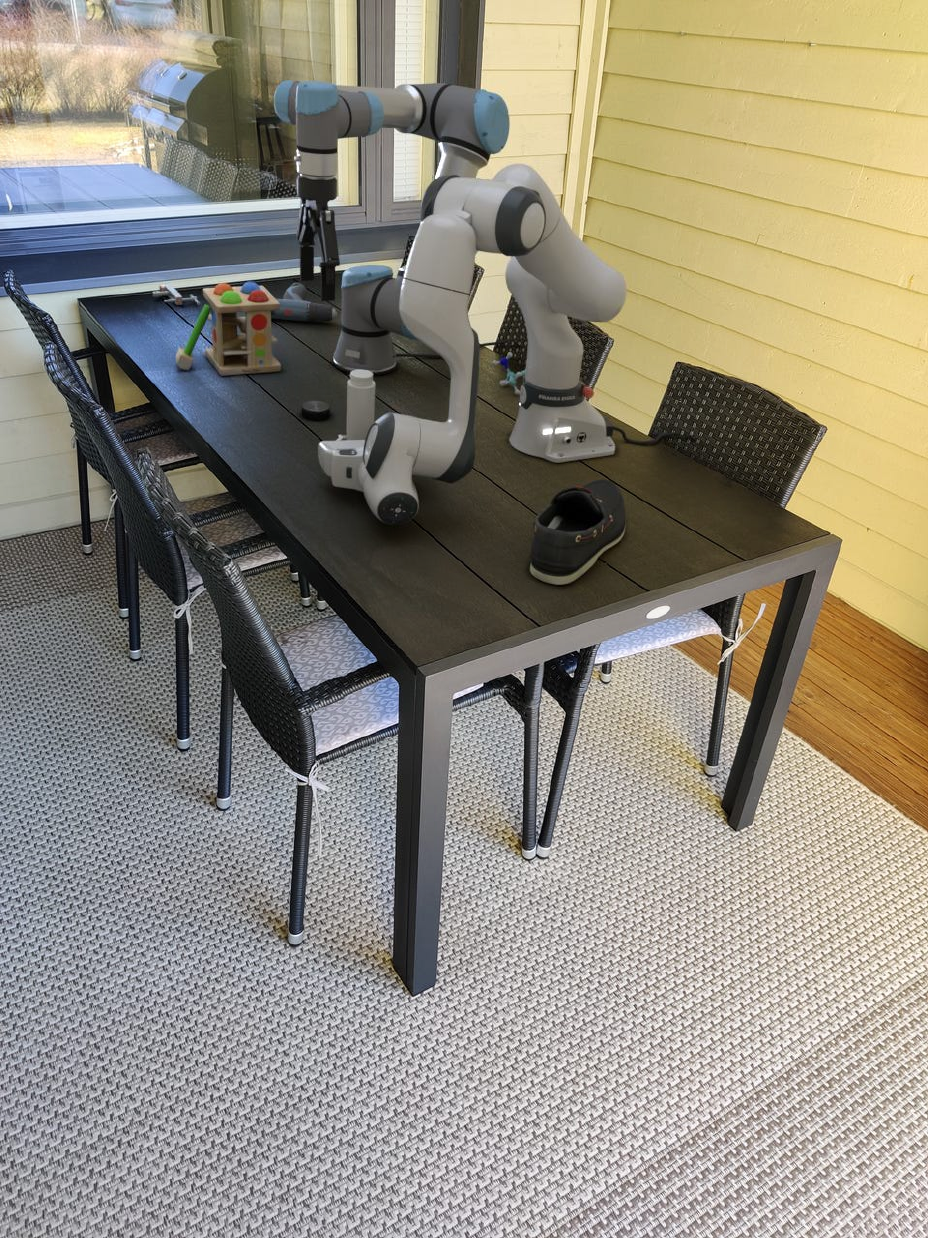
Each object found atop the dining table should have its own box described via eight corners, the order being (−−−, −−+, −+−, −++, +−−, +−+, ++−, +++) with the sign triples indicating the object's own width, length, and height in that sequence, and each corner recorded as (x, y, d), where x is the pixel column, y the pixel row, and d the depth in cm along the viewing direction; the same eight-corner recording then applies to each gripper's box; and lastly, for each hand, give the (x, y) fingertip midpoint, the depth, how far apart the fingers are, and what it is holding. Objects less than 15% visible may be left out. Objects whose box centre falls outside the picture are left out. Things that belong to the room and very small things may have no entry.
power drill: (344, 304, 276) (335, 327, 259) (277, 298, 275) (264, 321, 258) (344, 285, 273) (335, 306, 256) (277, 279, 272) (264, 300, 255)
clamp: (148, 285, 268) (184, 283, 272) (149, 293, 269) (185, 291, 274) (164, 302, 257) (201, 299, 262) (164, 310, 259) (202, 307, 263)
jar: (340, 451, 197) (341, 373, 188) (357, 443, 201) (359, 366, 192) (361, 459, 195) (363, 380, 185) (378, 451, 198) (381, 373, 189)
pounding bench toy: (183, 379, 220) (176, 299, 210) (169, 357, 231) (162, 280, 221) (282, 371, 230) (280, 294, 220) (264, 350, 240) (262, 276, 230)
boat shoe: (648, 521, 183) (657, 470, 178) (567, 591, 159) (574, 534, 154) (587, 503, 189) (593, 452, 184) (499, 567, 165) (504, 512, 160)
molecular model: (536, 387, 225) (523, 344, 224) (499, 400, 229) (485, 359, 227) (549, 385, 235) (536, 345, 234) (513, 399, 239) (500, 359, 238)
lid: (323, 423, 208) (323, 413, 206) (297, 417, 209) (297, 408, 208) (334, 413, 212) (334, 403, 211) (308, 408, 214) (308, 398, 212)
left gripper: (279, 161, 192) (281, 272, 204) (318, 189, 173) (318, 309, 185) (316, 162, 195) (316, 271, 206) (358, 189, 176) (355, 308, 188)
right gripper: (437, 451, 178) (420, 420, 189) (324, 454, 173) (313, 423, 184) (434, 482, 182) (418, 450, 193) (324, 486, 176) (313, 454, 187)
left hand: (317, 289), depth 196 cm, fingers open, 13 cm apart
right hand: (366, 437), depth 188 cm, fingers open, 8 cm apart
